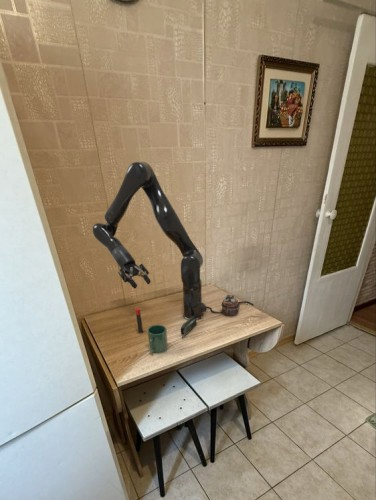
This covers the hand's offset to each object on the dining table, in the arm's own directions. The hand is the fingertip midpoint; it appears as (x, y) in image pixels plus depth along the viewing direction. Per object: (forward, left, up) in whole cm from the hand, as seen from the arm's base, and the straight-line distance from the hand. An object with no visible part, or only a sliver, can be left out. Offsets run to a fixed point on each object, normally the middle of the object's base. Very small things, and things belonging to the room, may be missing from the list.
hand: (142, 285), depth 129 cm
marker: (+2, +7, -21) cm, 22 cm away
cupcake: (-43, -11, -21) cm, 49 cm away
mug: (-7, +22, -21) cm, 31 cm away
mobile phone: (-21, +6, -21) cm, 30 cm away
